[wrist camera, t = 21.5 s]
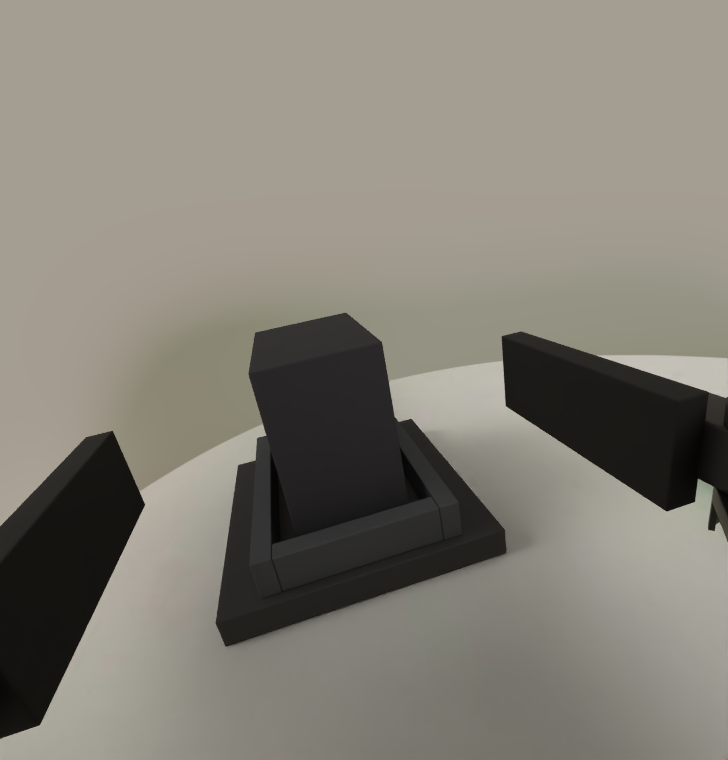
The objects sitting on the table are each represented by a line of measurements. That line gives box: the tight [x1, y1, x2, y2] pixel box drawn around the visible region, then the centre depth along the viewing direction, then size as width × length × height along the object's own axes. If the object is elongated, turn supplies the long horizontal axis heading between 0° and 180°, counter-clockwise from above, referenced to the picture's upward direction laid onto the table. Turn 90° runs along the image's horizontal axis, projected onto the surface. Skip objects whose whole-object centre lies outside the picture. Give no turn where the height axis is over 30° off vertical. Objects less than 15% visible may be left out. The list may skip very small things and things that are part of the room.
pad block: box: [249, 313, 409, 537], centre depth 24 cm, size 6×9×10 cm, turn 13°
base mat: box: [216, 418, 506, 646], centre depth 25 cm, size 14×14×4 cm
